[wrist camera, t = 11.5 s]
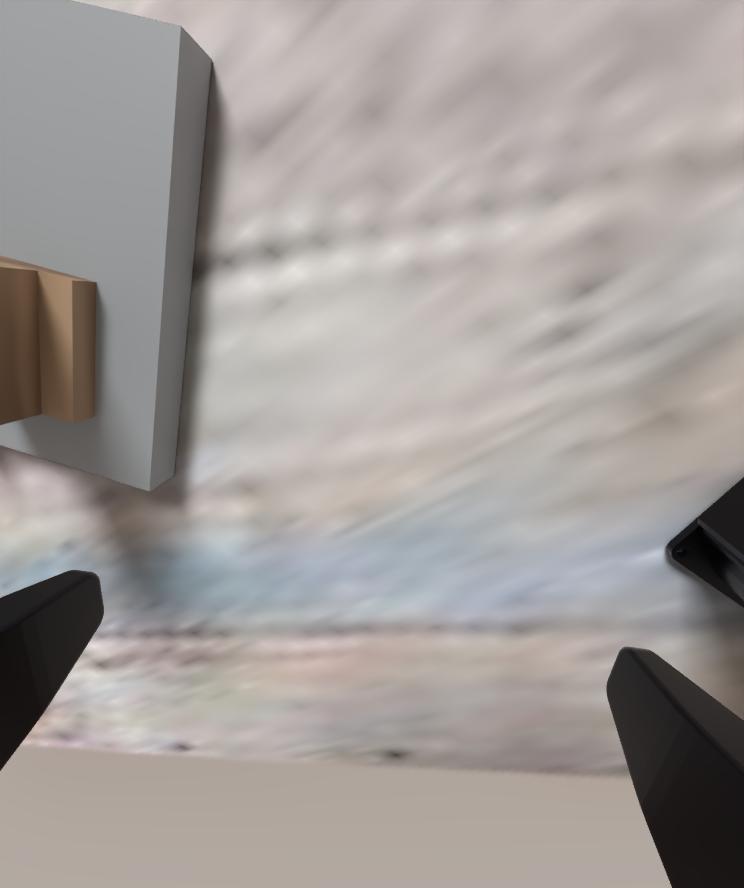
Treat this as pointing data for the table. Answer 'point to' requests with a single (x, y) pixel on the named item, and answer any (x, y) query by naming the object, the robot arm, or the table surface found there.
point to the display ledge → (107, 212)
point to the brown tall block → (46, 343)
